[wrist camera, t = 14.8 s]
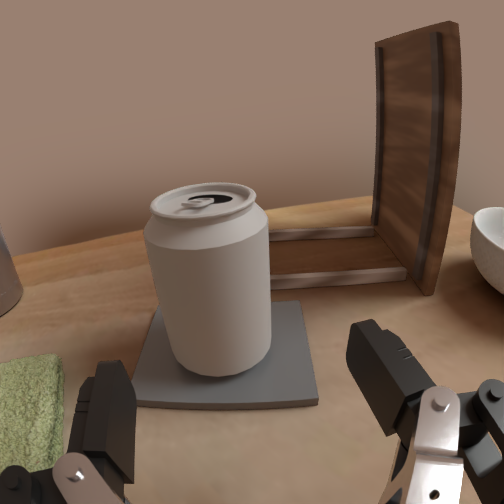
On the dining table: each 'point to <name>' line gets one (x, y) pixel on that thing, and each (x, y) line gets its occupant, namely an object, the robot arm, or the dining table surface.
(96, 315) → the dining table surface
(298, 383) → the slate board
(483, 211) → the cereal bowl
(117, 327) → the dining table surface
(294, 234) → the wooden stand
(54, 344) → the dining table surface
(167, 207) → the can
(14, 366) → the washcloth
